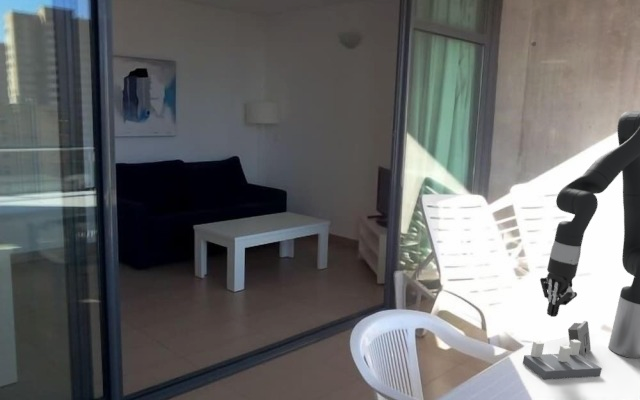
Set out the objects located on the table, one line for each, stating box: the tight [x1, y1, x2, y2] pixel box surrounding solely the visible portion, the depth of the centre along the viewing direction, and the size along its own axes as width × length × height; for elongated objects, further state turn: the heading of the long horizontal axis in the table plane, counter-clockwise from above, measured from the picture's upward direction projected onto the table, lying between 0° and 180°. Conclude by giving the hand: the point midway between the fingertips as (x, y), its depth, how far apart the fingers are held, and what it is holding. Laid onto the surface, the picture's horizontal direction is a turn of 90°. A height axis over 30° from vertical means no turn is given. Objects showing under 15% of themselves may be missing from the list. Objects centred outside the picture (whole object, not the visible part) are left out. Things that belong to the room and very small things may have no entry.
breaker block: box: [522, 353, 603, 381], centre depth 153 cm, size 19×9×3 cm, turn 108°
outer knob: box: [530, 340, 545, 357], centre depth 154 cm, size 2×2×4 cm
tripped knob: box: [558, 345, 571, 362], centre depth 153 cm, size 2×2×4 cm
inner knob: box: [568, 339, 581, 355], centre depth 158 cm, size 2×2×4 cm
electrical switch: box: [567, 320, 591, 358], centre depth 167 cm, size 9×5×9 cm, turn 141°
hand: (551, 315), depth 158 cm, fingers closed
